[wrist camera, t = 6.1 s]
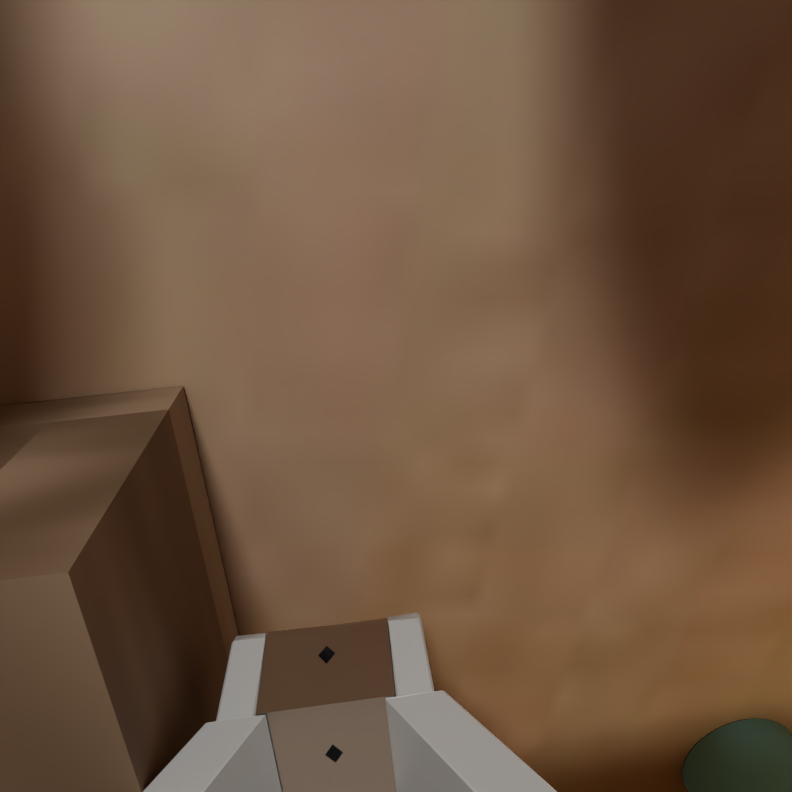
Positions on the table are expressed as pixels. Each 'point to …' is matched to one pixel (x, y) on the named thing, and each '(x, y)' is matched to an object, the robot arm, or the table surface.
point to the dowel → (741, 759)
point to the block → (105, 592)
